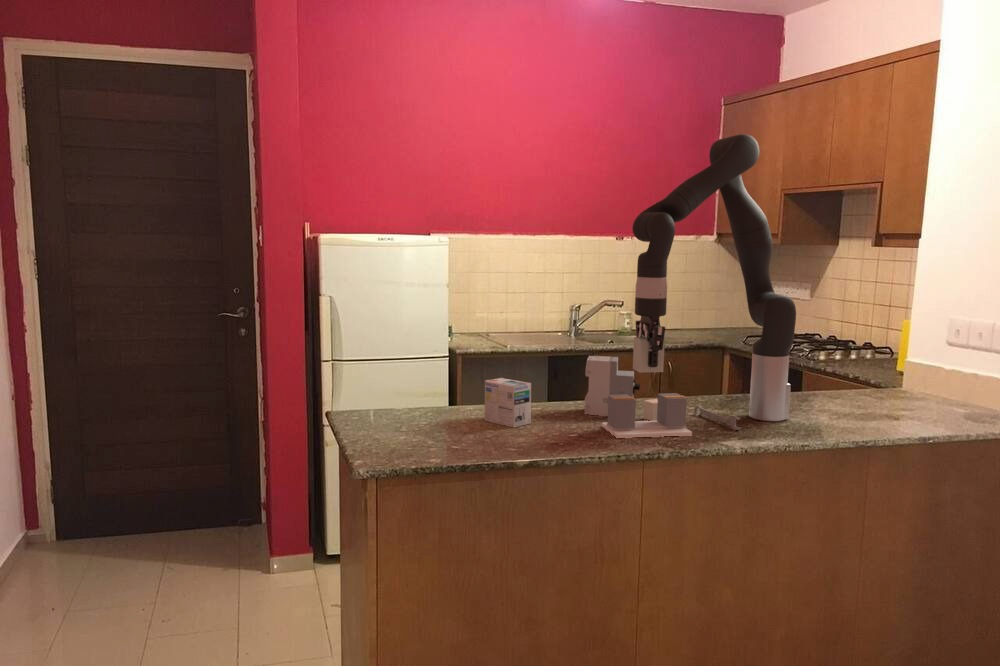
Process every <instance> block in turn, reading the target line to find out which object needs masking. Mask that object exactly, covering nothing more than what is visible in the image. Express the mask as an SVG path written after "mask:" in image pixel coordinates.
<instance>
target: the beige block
mask: <svg viewBox="0 0 1000 666" xmlns="http://www.w3.org/2000/svg"><path fill="white" fill-rule="evenodd" d="M657 405H658V398H655V399H645V400H644V401H643V420H646V419H647V420H646V421H648V420H650V421H657Z"/></svg>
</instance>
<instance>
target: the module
mask: <svg viewBox="0 0 1000 666" xmlns="http://www.w3.org/2000/svg"><path fill="white" fill-rule="evenodd" d="M651 339H652V338H651ZM659 343H660V342H659ZM665 343H666V340H665V338H664V342H663V349H662V350H660V351H659V352H658V365H657V367H649V366H648V352H649V351H648V342H647V341H646V339H645V337H636V336H634V337H633V352H632V355H633V356H632V370H633V371H636V372H638V373H639V374H641V373H643V374H644V373H664V365H665V363H664V362H665ZM651 344H652V342H651ZM655 345H656V343H655Z"/></svg>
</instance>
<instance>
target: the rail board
mask: <svg viewBox="0 0 1000 666" xmlns="http://www.w3.org/2000/svg"><path fill="white" fill-rule="evenodd" d="M657 399H658V405H657V421H648V420H636V410H637V409H636V407H637V404H636V403H637V402H636V401H637V400H636V398H635V397H634V396H633V397H631V396H629V395H628V394H626V395H608V417H607V419H606V420H607V422H606V421H603V422H601V427H602V428H603V427H604V428H605V429H604V428H603V429H604V430H606V431H607V432H608V431H609V432H610V433H611V435H612V436H613V435H614V436H615V437H616V438H615V437H614V436H613V437H614V438H615V439H617V438H625V439H633V438H632V437H652V438H665V437H664V436H679V437H693V431H691V430H690V429H689V428H687V425H686V418H687V417H686V415H687V397H686V396H685V395H681V394H679V393H677V392H672V393H671V392H670V393H669V392H667V393H657ZM609 432H608V433H609ZM610 433H609V434H610ZM660 436H661V437H660Z"/></svg>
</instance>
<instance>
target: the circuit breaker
mask: <svg viewBox="0 0 1000 666" xmlns="http://www.w3.org/2000/svg"><path fill="white" fill-rule="evenodd" d="M585 377H587V378H588V392H587V393H586V395H585V397H584V414H589V415H588V416H590V415H599V416H598V417H607V416H608V395H626V394H628V395H629V396H631V397H634V395H635V391H640V389H641V386H640V385H641V384H640V383H636V381H635V380H636V379H635V370H619V357H618V356H605V355H604V356H603V355H602V356H601V355H588V357H587V360H586V364H585Z"/></svg>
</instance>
